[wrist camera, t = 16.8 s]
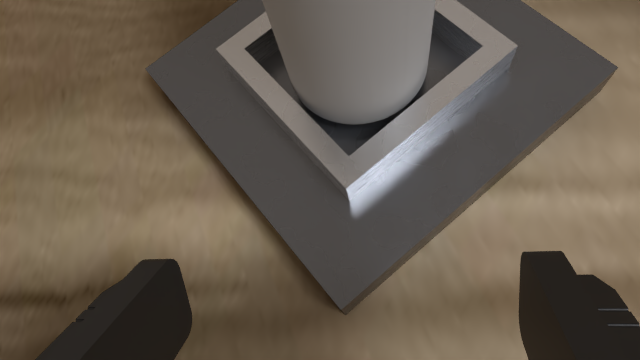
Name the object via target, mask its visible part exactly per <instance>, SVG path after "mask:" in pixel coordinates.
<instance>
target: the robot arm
mask: <svg viewBox="0 0 640 360" xmlns="http://www.w3.org/2000/svg"><path fill="white" fill-rule="evenodd" d="M191 325H192V312H191V308H190V304H189V300H188V297H187V293H186V289H185V285H184V282H183V278H182V274H181V271H180V267H179V265H178V263H177V262H176V261H175V260H174V259H148V260H142V261H141V262H139V263H138V264H137V265H136V266H135V267H134V268H133V270H132V271H131V272H130V273H129V274H128V275H127V276H126V277H125V278H124V279H123V280H121V281H120V282H118V283H117V284H115V285H114V286H112V287H110V288H109V289H107V290H106V291H104V292H102V293H101V294H100V295H99V296H98V297H97V298H96V299H95V300H94V301H93V302H92V303H91V304H90V305H89V306H88V310H84V311H83V312H82V313H81V314H80V315H79V316H78V317H77V318H76V322H72V323H71V324H70V325H69V326H68V327H67V328H66V329H65V330H64V331H63V332H62V333H61V334H60V335H59V336H58V337H57V338H56V339H55V340H54V341H53V342H52V343H51V344H50V345H49V346H48V347H47V348H46V349H45V350H44V351H43V352H42V353H41V354H40V355H39V356H38V357H37V358H36V359H35V360H174V359H175V357H176V355H177V354H178V352H179V350H180V349H181V347H182V346H183V344H184V342H185V341H186V339H187V338H188V336H189V333H190V330H191ZM519 325H520V332H521V337H522V341H523V344H524V347H525V350H526V353H527V356H528V359H529V360H640V326H639V323H638V321H637V320H636V318H635V317H634V316H633V314H632V313H631V312H629V311H628V307H627V306H626V304H625V303H624V302H623V300H622V299H621V297H620V296H619V295H618V293H617V292H616V290H615V289H613V288H612V287H610V286H609V285H607V284H606V283H604V282H603V281H601V280H600V279H598V278H597V277H596V276H594V275H577V274H576V272H575V271H574V269H573V268H572V266H571V264H570V263H569V261H568V259H567V258H566V256H565V255H564V253H563V252H562V251H538V252H523V253H522V256H521V264H520V292H519Z"/></svg>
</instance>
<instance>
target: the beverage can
mask: <svg viewBox="0 0 640 360" xmlns="http://www.w3.org/2000/svg"><path fill="white" fill-rule="evenodd" d="M262 2H263V5H264V7H265V10H266V13H267V16H268V19H269V22H270V24H271V27H272V30H273V33H274V36H275V38H276V41H277V44H278V47H279V50H280V53H281V55H282V58H283V61H284V64H285V67H286V69H287V72H288V75H289V78H290V81H291V84H292V86H293V89H294V91H295V93H296V94H297V96H298V98H299V99H300V100H301V102H302V103H303V104H304V105H305V106H306V107H307V108H308V109H309V110H311V111H312V112H313V113H315V114H316V115H318V116H320V117H322V118H324V119H327V120H329V121H332V122H336V123H341V124H350V125H357V124H367V123H372V122H376V121H380V120H383V119H385V118H387V117H389V116H392V115H393V114H395V113H397V112H398V111H400V110H401V109H403V108H404V107H405V106H406V105H407V104H408V103H409V102H410V101H411V100H412V99H413V98H414V97H415V96H416V94H417V93H418V91H419V90H420V88H421V86H422V84H423V82H424V79H425V76H426V73H427V67H428V59H429V51H430V43H431V35H432V27H433V18H434V10H435V2H436V0H262Z"/></svg>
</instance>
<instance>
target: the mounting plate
mask: <svg viewBox="0 0 640 360" xmlns="http://www.w3.org/2000/svg"><path fill="white" fill-rule="evenodd" d="M617 68H618V67H617V66H615V65H614V64H612V63H611V62H610V61H608V60H607V59H605V58H604V57H602V56H601V55H599V54H598V53H596V52H595V51H594V50H592V49H591V48H589V47H588V46H586V45H585V44H583V43H582V42H580V41H579V40H578V39H576V38H575V37H573V36H572V35H570V34H569V33H567V32H566V31H564V30H563V29H561V28H560V27H559V26H557V25H556V24H554V23H553V22H551V21H550V20H548V19H547V18H545V17H544V16H543V15H541V14H540V13H538V12H537V11H535V10H534V9H532V8H531V7H529V6H528V5H527V4H525V3H524V2H522V1H521V0H436V2H435V10H434V18H433V27H432V35H431V43H430V51H429V59H428V67H427V73H426V76H425V79H424V82H423V84H422V86H421V88H420V90H419V91H418V93H417V94H416V96H415V97H414V98H413V99H412V100H411V101H410V102H409V103H408V104H407V105H406V106H405V107H404V108H403V109H401V110H400V111H398V112H397V113H395V114H393V115H392V116H389V117H387V118H385V119H383V120H380V121H376V122H372V123H367V124H357V125H350V124H341V123H336V122H332V121H329V120H327V119H324V118H322V117H320V116H318V115H316V114H315V113H313V112H312V111H311V110H309V109H308V108H307V107H306V106H305V105H304V104H303V103H302V102H301V100H300V99H299V98H298V96H297V94H296V93H295V91H294V89H293V86H292V84H291V81H290V78H289V75H288V72H287V69H286V67H285V64H284V61H283V58H282V55H281V53H280V50H279V47H278V44H277V41H276V38H275V36H274V33H273V30H272V27H271V24H270V22H269V19H268V16H267V13H266V10H265V7H264V5H263V2H262V0H238V1H237V2H235V3H234V4H233V5H231V6H230V7H228V8H227V9H226V10H224V11H223V12H222V13H220V14H219V15H218V16H216V17H215V18H214V19H212V20H211V21H210V22H208V23H207V24H205V25H204V26H203V27H201V28H200V29H199V30H197V31H196V32H195V33H193V34H192V35H191V36H189V37H188V38H186V39H185V40H184V41H182V42H181V43H180V44H178V45H177V46H176V47H174V48H173V49H172V50H170V51H169V52H167V53H166V54H165V55H163V56H162V57H161V58H159V59H158V60H157V61H155V62H154V63H153V64H151V65H150V66H148V67H147V68H146V70H147V72H148V73H149V74H150V75H151V77H152V78H153V79H154V80H155V82H156V83H157V84H158V85H159V86H160V88H161V89H162V90H163V91H164V93H165V94H166V95H167V96H168V98H169V99H170V100H171V101H172V102H173V104H174V105H175V106H176V107H177V109H178V110H179V111H180V112H181V114H182V115H183V116H184V117H185V119H186V120H187V121H188V122H189V123H190V125H191V126H192V127H193V128H194V130H195V131H196V132H197V133H198V135H199V136H200V137H201V138H202V139H203V141H204V142H205V143H206V144H207V146H208V147H209V148H210V149H211V151H212V152H213V153H214V154H215V156H216V157H217V158H218V159H219V160H220V162H221V163H222V164H223V165H224V167H225V168H226V169H227V170H228V172H229V173H230V174H231V175H232V176H233V178H234V179H235V180H236V181H237V183H238V184H239V185H240V186H241V188H242V189H243V190H244V191H245V192H246V194H247V195H248V196H249V197H250V199H251V200H252V201H253V202H254V204H255V205H256V206H257V207H258V209H259V210H260V211H261V212H262V213H263V215H264V216H265V217H266V218H267V220H268V221H269V222H270V223H271V225H272V226H273V227H274V228H275V229H276V231H277V232H278V233H279V234H280V236H281V237H282V238H283V239H284V241H285V242H286V243H287V244H288V245H289V247H290V248H291V249H292V250H293V252H294V253H295V254H296V255H297V257H298V258H299V259H300V260H301V262H302V263H303V264H304V265H305V266H306V268H307V269H308V270H309V271H310V273H311V274H312V275H313V276H314V278H315V279H316V280H317V281H318V282H319V284H320V285H321V286H322V287H323V289H324V290H325V291H326V292H327V294H328V295H329V296H330V297H331V299H332V300H333V301H334V302H335V303H336V305H337V306H338V307H339V308H340V310H341V311H342V312H343V313H344V314H345V315H346V314H347V313H348V312H350V311H351V310H352V309H353V308H354V307H355V306H356V305H358V304H359V303H360V302H361V301H362V300H363V299H364V298H366V297H367V296H368V295H369V294H370V293H371V292H372V291H374V290H375V289H376V288H377V287H378V286H379V285H380V284H382V283H383V282H384V281H385V280H386V279H387V278H388V277H389V276H391V275H392V274H393V273H394V272H395V271H396V270H397V269H399V268H400V267H401V266H402V265H403V264H404V263H405V262H407V261H408V260H409V259H410V258H411V257H412V256H413V255H415V254H416V253H417V252H418V251H419V250H420V249H421V248H423V247H424V246H425V245H426V244H427V243H428V242H429V241H430V240H432V239H433V238H434V237H435V236H436V235H437V234H438V233H440V232H441V231H442V230H443V229H444V228H445V227H446V226H448V225H449V224H450V223H451V222H452V221H453V220H454V219H456V218H457V217H458V216H459V215H460V214H461V213H462V212H464V211H465V210H466V209H467V208H468V207H469V206H470V205H471V204H473V203H474V202H475V201H476V200H477V199H478V198H479V197H481V196H482V195H483V194H484V193H485V192H486V191H487V190H489V189H490V188H491V187H492V186H493V185H494V184H495V183H497V182H498V181H499V180H500V179H501V178H502V177H503V176H505V175H506V174H507V173H508V172H509V171H510V170H511V169H512V168H514V167H515V166H516V165H517V164H518V163H519V162H520V161H522V160H523V159H524V158H525V157H526V156H527V155H528V154H530V153H531V152H532V151H533V150H534V149H535V148H536V147H538V146H539V145H540V144H541V143H542V142H543V141H544V140H546V139H547V138H548V137H549V136H550V135H551V134H552V133H553V132H555V131H556V130H557V129H558V128H559V127H560V126H561V125H563V124H564V123H565V122H566V121H567V120H568V119H569V118H571V117H572V116H573V115H574V114H575V113H576V112H577V111H579V110H580V109H581V108H582V107H583V106H584V105H585V104H587V103H588V102H589V101H590V100H591V99H592V98H593V97H594V96H596V95H597V94H598V93H599V92H600V91H601V89H602V88H603V87H604V86H605V84H606V83H607V82H608V80H609V79H610V78H611V76H612V75H613V74H614V72H615V71H616V70H617Z"/></svg>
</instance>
